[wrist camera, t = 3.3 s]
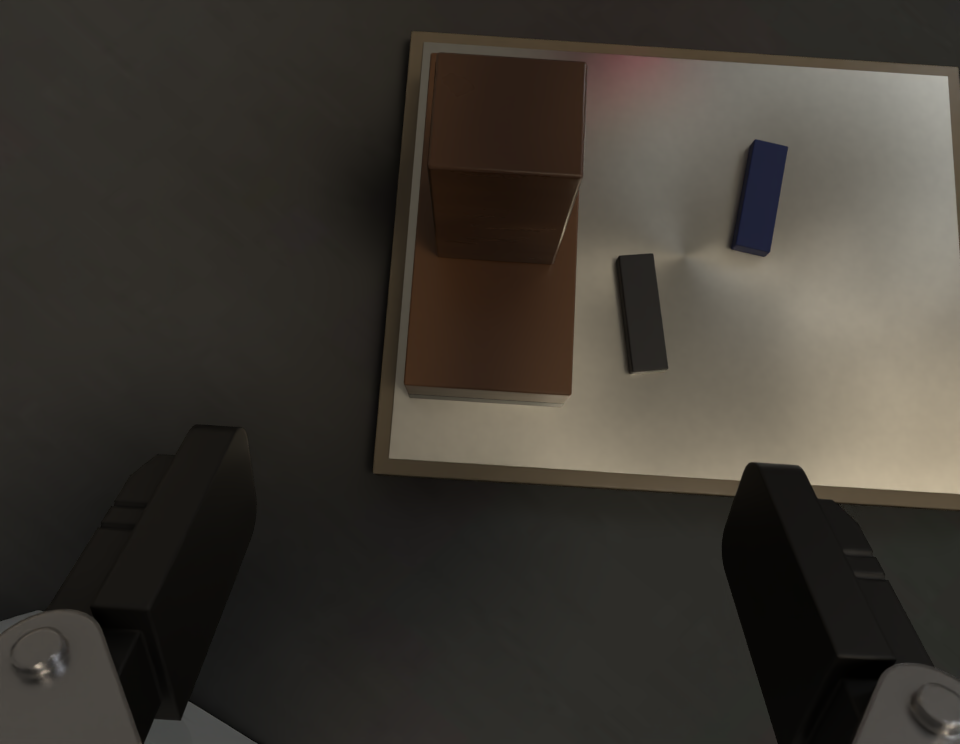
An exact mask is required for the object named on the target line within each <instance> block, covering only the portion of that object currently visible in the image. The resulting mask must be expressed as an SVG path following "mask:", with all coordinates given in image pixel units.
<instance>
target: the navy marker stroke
mask: <svg viewBox="0 0 960 744" xmlns="http://www.w3.org/2000/svg"><path fill="white" fill-rule="evenodd" d="M787 151H788V146H784V145H779V144H775V143H771V142H766V141H762V140H757V139H755V140H754V141H753V142H752V144H751V145H750V148H749V153H748V158H747V164H746V169H745V175H744V180H743V186H742V191H741V197H740V202H739V208H738V213H737V219H736V224H735V230H734V235H733V240H732V246H731V249H732V250H736V251H741V252H745V253H749V254H753V255H758V256H762V257H765V256H766V255H768V254H769V253H770V250H771V244H772V239H773V233H774V227H775V221H776V215H777V209H778V204H779V198H780V192H781V186H782V180H783V175H784V169H785V163H786V157H787Z"/></svg>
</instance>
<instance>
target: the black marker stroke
mask: <svg viewBox="0 0 960 744" xmlns="http://www.w3.org/2000/svg"><path fill="white" fill-rule="evenodd" d="M616 265H617V273H618V282H619V290H620V298H621V307H622V315H623V324H624V332H625V340H626V349H627V357H628V365H629V373H630V374H645V373H658V372H665V371H666V370H668V361H667V354H666V346H665V338H664V331H663V323H662V315H661V308H660V300H659V292H658V284H657V277H656V269H655V261H654V255H653V253H649V254H634V255H620V256H618V258H617V260H616Z"/></svg>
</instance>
